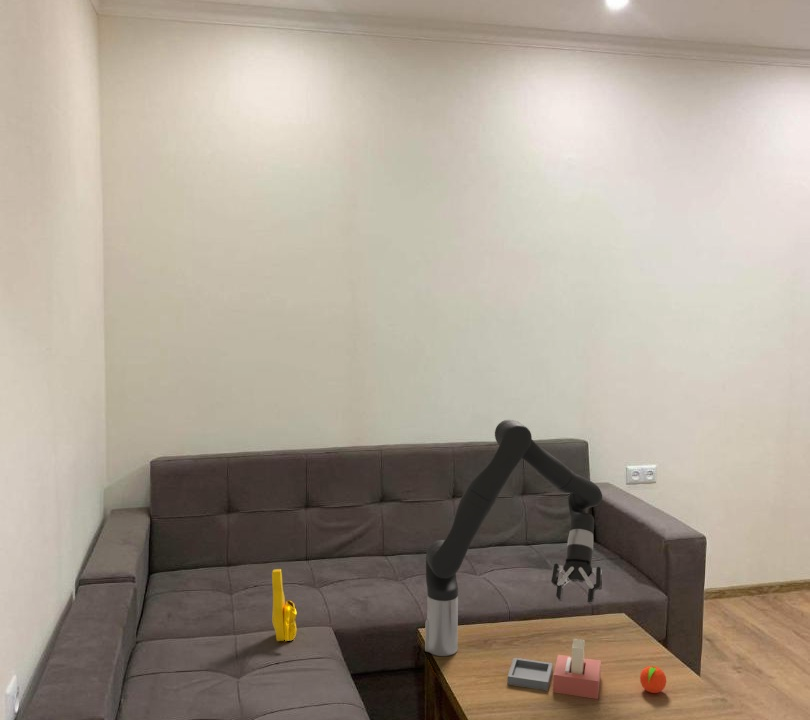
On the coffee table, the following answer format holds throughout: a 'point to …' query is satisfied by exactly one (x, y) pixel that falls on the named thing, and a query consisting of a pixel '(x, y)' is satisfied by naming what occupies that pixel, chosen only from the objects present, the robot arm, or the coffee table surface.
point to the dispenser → (577, 678)
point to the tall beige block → (578, 656)
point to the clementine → (653, 679)
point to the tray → (530, 673)
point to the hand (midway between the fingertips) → (574, 601)
